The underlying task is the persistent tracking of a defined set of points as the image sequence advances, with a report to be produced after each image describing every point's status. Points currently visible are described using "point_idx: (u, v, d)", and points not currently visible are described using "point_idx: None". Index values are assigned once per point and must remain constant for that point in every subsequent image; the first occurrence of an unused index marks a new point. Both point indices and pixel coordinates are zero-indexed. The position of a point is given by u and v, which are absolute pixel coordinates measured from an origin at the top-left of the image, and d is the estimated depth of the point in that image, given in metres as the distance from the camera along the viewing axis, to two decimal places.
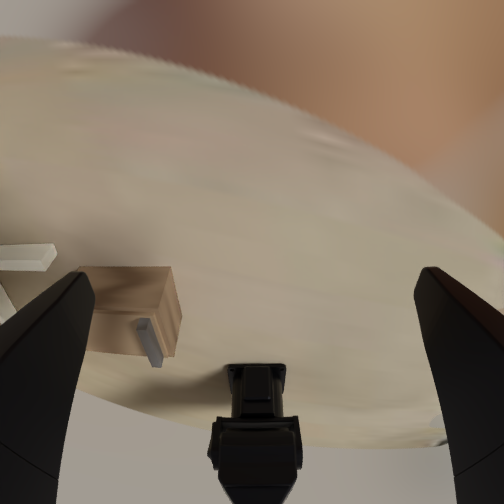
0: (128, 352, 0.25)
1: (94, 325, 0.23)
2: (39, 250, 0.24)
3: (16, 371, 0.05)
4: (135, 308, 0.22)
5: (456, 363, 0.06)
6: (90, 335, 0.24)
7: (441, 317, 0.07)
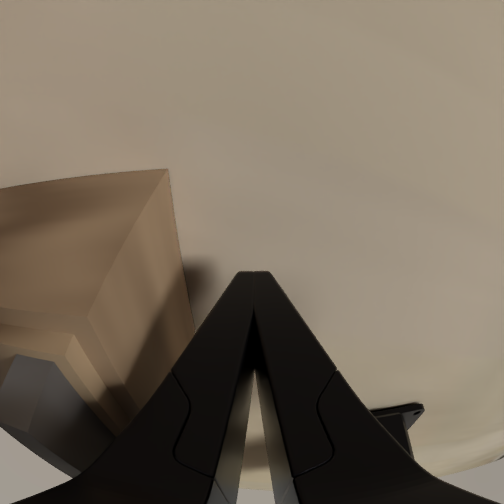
0: None
1: None
2: None
3: (238, 399, 0.05)
4: None
5: (260, 385, 0.06)
6: None
7: (253, 329, 0.07)
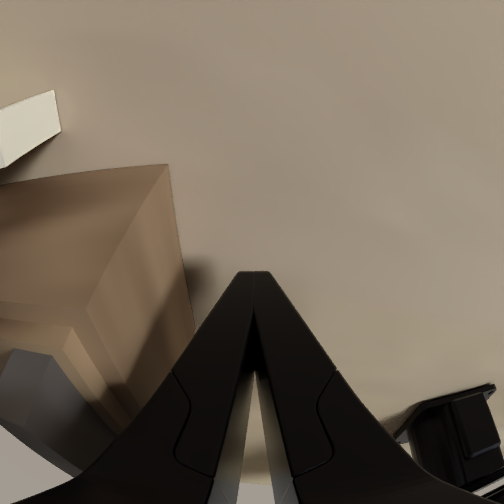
0: None
1: None
2: (1, 108, 0.05)
3: (239, 400, 0.05)
4: None
5: (260, 385, 0.06)
6: None
7: (253, 329, 0.07)
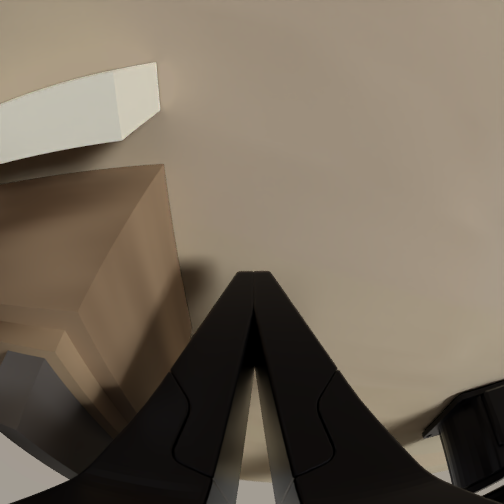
0: None
1: None
2: (93, 74, 0.05)
3: (238, 399, 0.05)
4: None
5: (261, 385, 0.06)
6: None
7: (254, 329, 0.07)
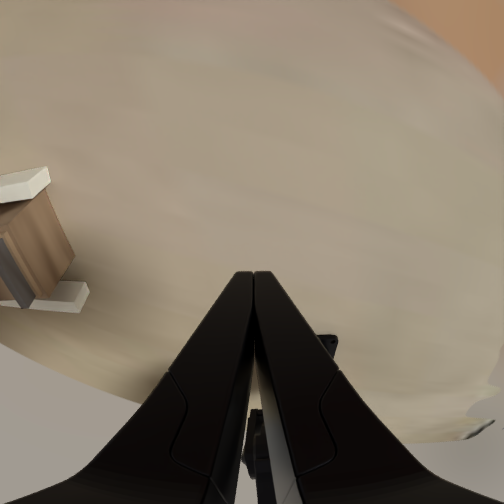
0: (7, 296, 0.18)
1: None
2: (27, 174, 0.17)
3: (236, 399, 0.05)
4: None
5: (262, 384, 0.06)
6: None
7: (255, 329, 0.07)
